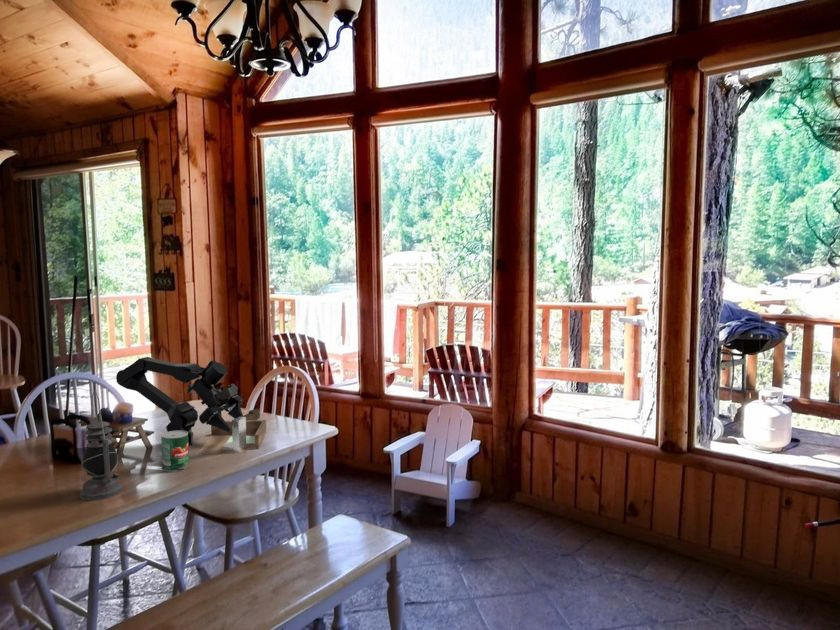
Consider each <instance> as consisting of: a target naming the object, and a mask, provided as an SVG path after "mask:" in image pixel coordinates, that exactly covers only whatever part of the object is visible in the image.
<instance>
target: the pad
mask: <svg viewBox="0 0 840 630" xmlns="http://www.w3.org/2000/svg"><path fill="white" fill-rule="evenodd" d="M228 442H233V439H232V437H230V438H229V440H228V441H227V443H228ZM227 443H226V444H227ZM246 444H255V436H246Z"/></svg>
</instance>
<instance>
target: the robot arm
mask: <svg viewBox="0 0 840 630" xmlns="http://www.w3.org/2000/svg"><path fill="white" fill-rule="evenodd" d="M148 371H149V372H153V373H157V374H162V375H167V376H170V377H173V378H174V379H175V381H179V382H181V383H183V384H187V383H190V382H192V383H191V384H188V385H187V393H188V394H190V393H192V392H194V393H195V395H197V396H198V398H199V399H200V400H201V402H200V404H201V405H202V406H204V405H206V406H207V407H206V408H205V410H203V411H202V412H201V414H199V415H198V411H197V410H196V409H195V408H196V407H195V406H193V405H191V404H190V403H189V402H188V401H187V400H185V401H182V402H180V403H179V402H177V401H176V400H174V399H173V398H172V397H170V396H169V395H167V394H166V393H165V392H163V391H162V390H161V389H160V388H158V387H156V385H154V384H152V383H151V382H150V381H148V378H147V375H146V373H148ZM227 374H228V368H227V367H226V366H225V365H224V364H222V363H220V362H218V361H216V360H215V359H212V360H210V361H209V362H208V363H207V365H206V366H205V367H203V366H200V365H199V364H197V363H192V362H191V363H190V362H189V363H187V362H186V363H185V362H184V363H175V362H172V361H166V360H161V359H156V358H153V357H150V356H145V357H139V358H138V359H137V360H136V361H135V362H133V363H131V364H130V365H128V366H127V367H125V368H124V369H121V370H119V371H118V372H117V373H116V375H115V379H116V383H117V384H118V385H119V386H120V387H123V388H124V389H126V390H131V391H135V392H137V393H139V394H140V395H141V396H143V397H144V398H145V399H147V400H148V401H149V402H151V404H153V405H155V406H156V407H157V408H159V409H161V410H162V411H163V412H165V414H167V417H168V420H169V421H170V422H169V423H168V424H167V425H166V426H165V429H166V432H169V431H176V430H183V431H187V432H188V446H191V445H193V444H194V432H193V431H192V428H193V427H195V424H196V422H197V421H198V420H199V421H200V423H201V424H202V425H204V424H206V425H207V426H208V425H209V426H211V425H212V426H215V427H217V428H220V429H222V430H225V431H227V432H230V431H231V429H230V427H229V426H228V424H227V423H226V422H225V421H226V420H225V419H224V417H223V416H222V412H223V411H225V412H227V415H229V416H230V417H232V418H233V419H235V418H237V417H244V414H243V411H242V407H241V406H242V404H243V397H242V396H241V395H238V390H239V387H238V386H236V384H234V383H231V384H229V385H227V387H226V388H225V389H224V390H222V389H221V388H217V389H216V388H215V387H214V386H216V385H218V384H219V383H220V382H221V380H222V379H224V377H225V376H226V375H227ZM193 381H194V382H193Z"/></svg>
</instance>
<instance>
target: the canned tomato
mask: <svg viewBox="0 0 840 630" xmlns="http://www.w3.org/2000/svg"><path fill="white" fill-rule="evenodd" d="M160 436H161V459H162V460H161V461H162V463H161V465H162V470H163V471H165V472H169V473H172V472H173V473H175V472H180V471H185V468H184V467H186V466H188V465H189V463H190V459H189V457H190V454H189V453H190V450H189V445H188V432H187V431H183V430H176V431H169V432H167V431H166V432H163V433H162V434H161V435H160Z"/></svg>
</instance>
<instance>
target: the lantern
mask: <svg viewBox="0 0 840 630" xmlns="http://www.w3.org/2000/svg"><path fill="white" fill-rule="evenodd" d="M94 395H96V399H97V402H98V410H99V413H96V414H95V416H96V418H95V419H96V421H95V422H93V415H94V414H93V413H94ZM100 403H101V402H100V397H99V395H98V392H97V390H96V389H94V391H93V392H92V395H91V413H90V414H91V415H90V423H89V424H87V426H86V427H87V428H88V430H86V431H85V432H84V434H85V435H86V436H85V439H86V441H88V442H87V443H86V447H85V450H84V452H83V454H82V458H81V461H82V464H81V467H82V468H83V470H84V471H85V472H86V476H90V477H91V478H90V479H88V480H86V481H84V483H83V485H82V489H80V494H79V497H80V499H82V500H85V501H100V500H105V499H110V498H113V497H115V496H117V495H119V494H120V493H122V491H123V487H122V483H121V482H120V479H119V476H120V474H119V473H113V472H114V471H115V469H116V467H117V465H118V464H119V463H118V462H119V457H118V452H117V450H116V448H115V447H114V446H113V442H112V440H111V439H110V438H112V435H113V434H112V433H111V432H113V428H112V427H108V426H110V425H111V424H110V422H108V421H104V420H103V418H102V411H101V404H100ZM98 418H99V421H98ZM111 473H112V475H111Z"/></svg>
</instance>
